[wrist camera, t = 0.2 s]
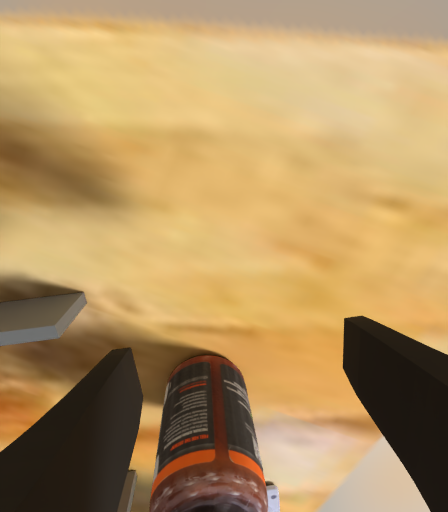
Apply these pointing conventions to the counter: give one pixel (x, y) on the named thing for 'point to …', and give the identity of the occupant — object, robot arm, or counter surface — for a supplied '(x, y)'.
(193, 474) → the supplement bottle
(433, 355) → the robot arm
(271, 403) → the counter surface
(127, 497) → the box
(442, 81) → the counter surface
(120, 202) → the counter surface
